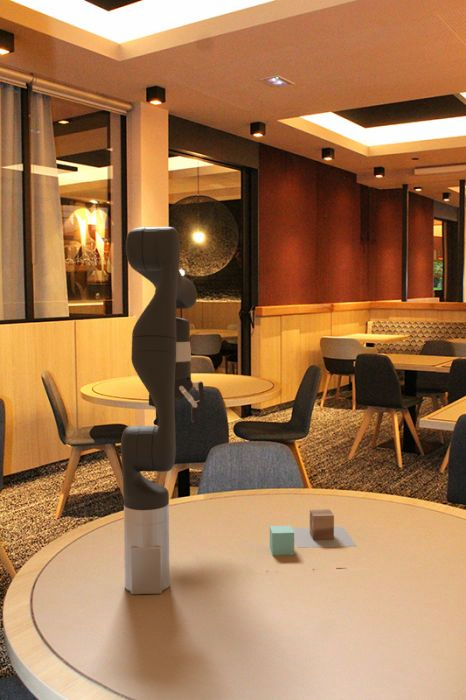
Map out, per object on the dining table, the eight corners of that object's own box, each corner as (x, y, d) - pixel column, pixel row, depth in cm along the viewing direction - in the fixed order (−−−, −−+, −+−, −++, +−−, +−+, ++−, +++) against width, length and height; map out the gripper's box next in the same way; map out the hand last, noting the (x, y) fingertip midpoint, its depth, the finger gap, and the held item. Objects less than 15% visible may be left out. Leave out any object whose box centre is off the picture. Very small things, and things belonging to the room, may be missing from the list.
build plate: (356, 549, 167) (356, 545, 167) (297, 550, 166) (297, 547, 166) (343, 529, 181) (343, 526, 181) (288, 531, 180) (288, 528, 180)
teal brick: (294, 558, 162) (294, 532, 161) (272, 559, 161) (272, 533, 161) (290, 550, 167) (290, 525, 166) (269, 551, 166) (269, 526, 166)
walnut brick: (333, 539, 171) (334, 515, 171) (313, 540, 171) (313, 515, 170) (329, 532, 176) (329, 509, 176) (309, 533, 176) (309, 509, 175)
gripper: (147, 360, 178) (148, 424, 179) (204, 360, 179) (204, 423, 180) (148, 358, 186) (149, 420, 187) (203, 358, 187) (203, 419, 188)
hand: (176, 422), depth 183 cm, fingers open, 8 cm apart
